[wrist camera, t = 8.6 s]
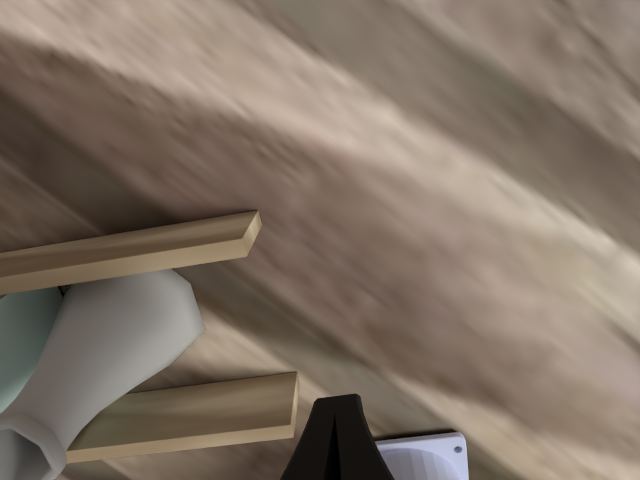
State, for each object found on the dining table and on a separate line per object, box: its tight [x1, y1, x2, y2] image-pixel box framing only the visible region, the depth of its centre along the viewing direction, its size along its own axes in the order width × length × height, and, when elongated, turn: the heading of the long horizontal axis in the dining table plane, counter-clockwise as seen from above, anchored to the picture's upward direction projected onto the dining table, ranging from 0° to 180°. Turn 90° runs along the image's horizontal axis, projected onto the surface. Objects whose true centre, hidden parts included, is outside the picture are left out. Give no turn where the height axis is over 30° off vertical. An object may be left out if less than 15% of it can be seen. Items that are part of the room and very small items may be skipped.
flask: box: [0, 269, 205, 480], centre depth 19 cm, size 7×7×10 cm
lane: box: [0, 210, 300, 464], centre depth 22 cm, size 11×17×5 cm, turn 100°
